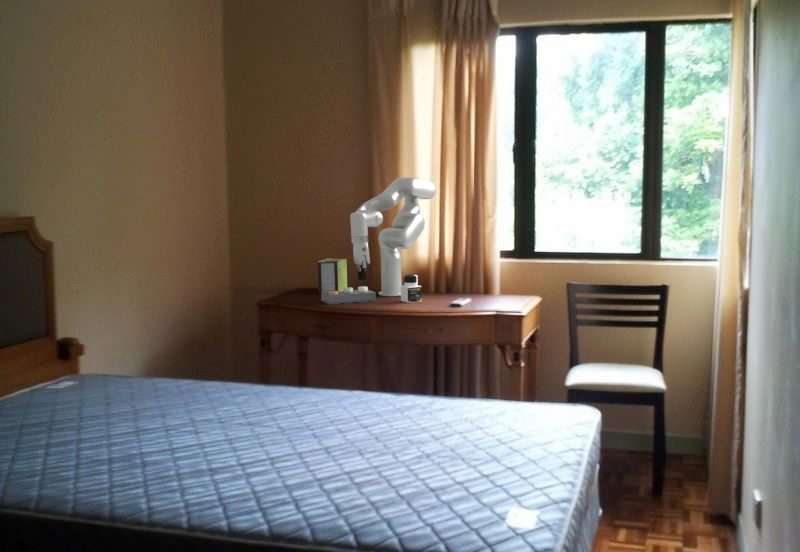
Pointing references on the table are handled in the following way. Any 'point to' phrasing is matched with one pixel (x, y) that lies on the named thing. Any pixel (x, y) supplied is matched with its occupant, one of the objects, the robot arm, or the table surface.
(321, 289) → the protein box
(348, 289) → the sage button
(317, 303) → the table surface
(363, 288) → the cream button
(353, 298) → the console
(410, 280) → the medicine bottle
